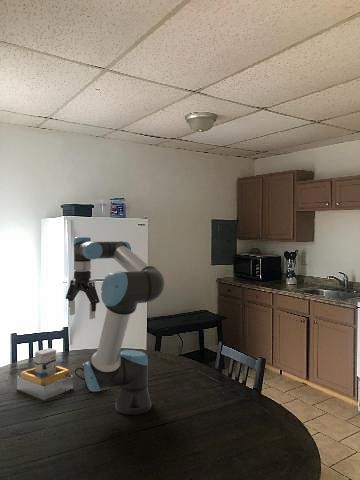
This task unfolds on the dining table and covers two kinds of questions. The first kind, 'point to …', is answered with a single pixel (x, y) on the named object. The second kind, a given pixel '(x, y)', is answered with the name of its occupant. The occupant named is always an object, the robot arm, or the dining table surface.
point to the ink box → (45, 362)
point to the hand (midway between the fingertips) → (82, 316)
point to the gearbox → (45, 383)
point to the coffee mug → (83, 371)
